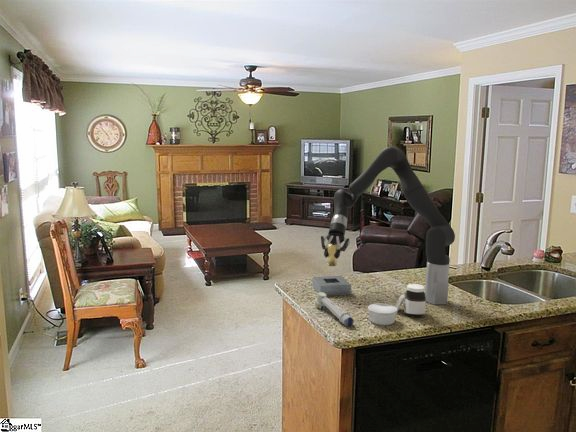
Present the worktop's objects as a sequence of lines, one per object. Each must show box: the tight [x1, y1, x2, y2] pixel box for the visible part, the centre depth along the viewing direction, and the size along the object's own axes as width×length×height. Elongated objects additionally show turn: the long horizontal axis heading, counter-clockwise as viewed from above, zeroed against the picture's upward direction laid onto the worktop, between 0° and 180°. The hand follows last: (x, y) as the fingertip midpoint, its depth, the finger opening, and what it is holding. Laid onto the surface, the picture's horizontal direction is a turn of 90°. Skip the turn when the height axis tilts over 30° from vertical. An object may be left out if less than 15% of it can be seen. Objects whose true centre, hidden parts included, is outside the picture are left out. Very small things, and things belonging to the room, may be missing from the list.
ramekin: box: [367, 302, 398, 326], centre depth 185 cm, size 11×11×5 cm
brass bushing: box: [326, 244, 338, 267], centre depth 218 cm, size 4×4×10 cm
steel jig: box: [312, 275, 352, 296], centre depth 221 cm, size 14×14×4 cm
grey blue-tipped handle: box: [314, 292, 355, 327], centre depth 190 cm, size 5×7×25 cm
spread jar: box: [394, 283, 427, 318], centre depth 193 cm, size 12×11×12 cm
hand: (331, 257), depth 217 cm, fingers closed on brass bushing, 4 cm apart
